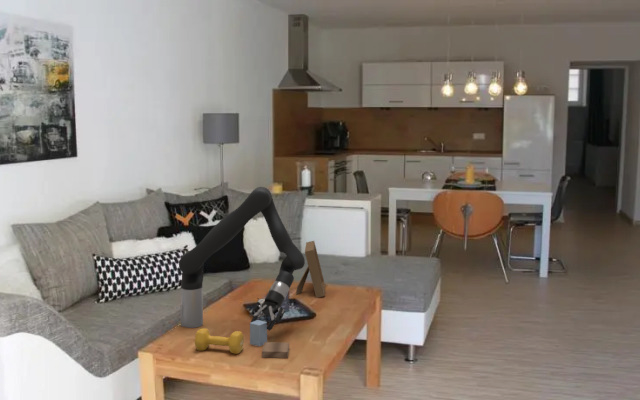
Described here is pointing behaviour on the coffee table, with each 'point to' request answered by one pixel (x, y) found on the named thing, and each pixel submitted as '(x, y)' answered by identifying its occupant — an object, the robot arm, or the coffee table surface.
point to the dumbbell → (219, 340)
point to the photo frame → (312, 271)
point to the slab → (275, 350)
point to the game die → (261, 302)
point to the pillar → (258, 333)
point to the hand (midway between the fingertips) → (260, 327)
